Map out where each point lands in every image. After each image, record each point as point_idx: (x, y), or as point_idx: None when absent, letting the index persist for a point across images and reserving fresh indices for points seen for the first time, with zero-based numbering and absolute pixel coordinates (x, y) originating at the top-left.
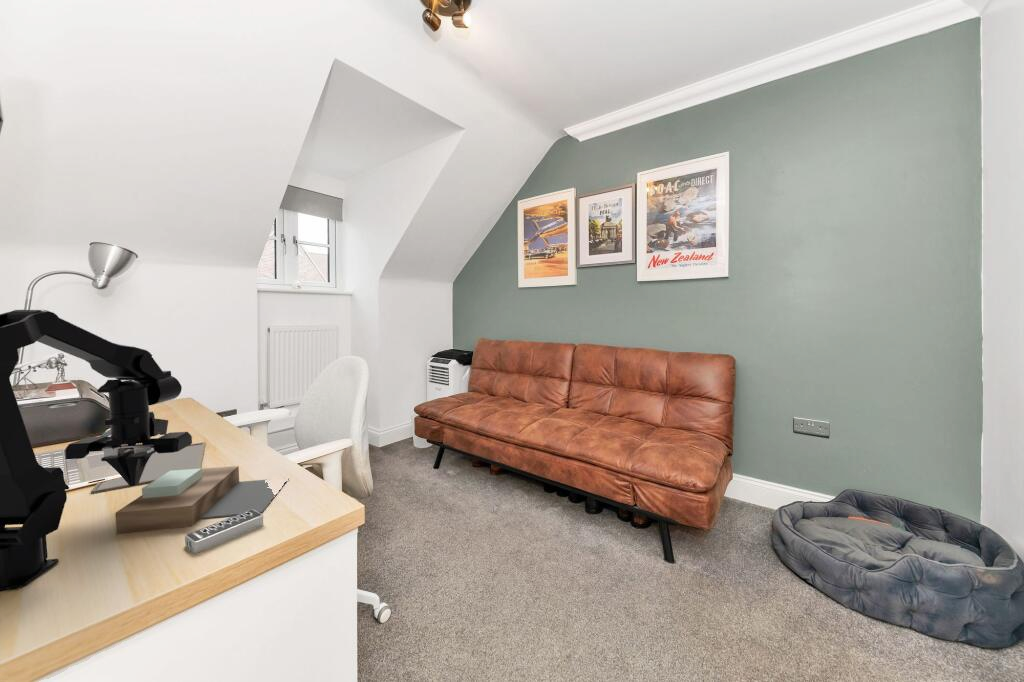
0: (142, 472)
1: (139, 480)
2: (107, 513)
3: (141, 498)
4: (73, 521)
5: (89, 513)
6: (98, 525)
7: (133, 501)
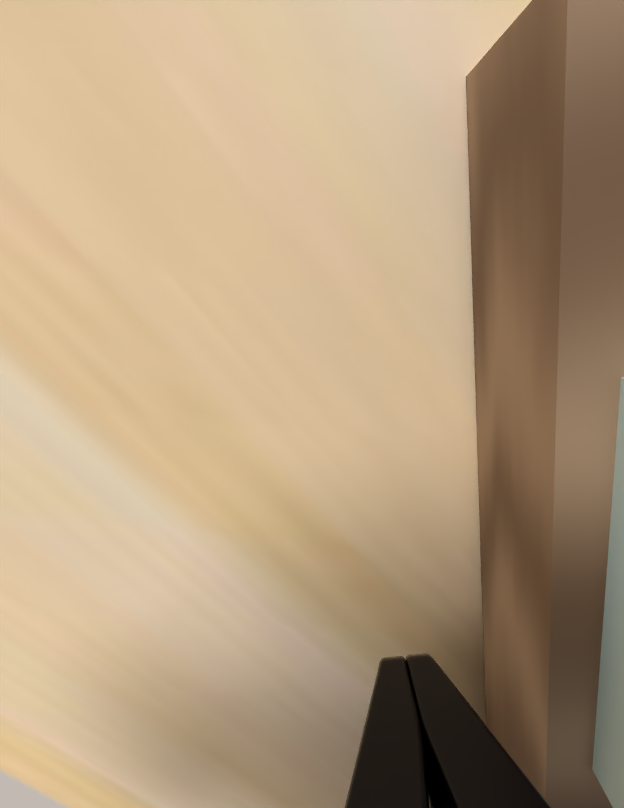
0: (531, 790)
1: (452, 686)
2: (223, 554)
3: (586, 772)
4: (109, 630)
5: (97, 545)
6: (310, 679)
7: (553, 806)
